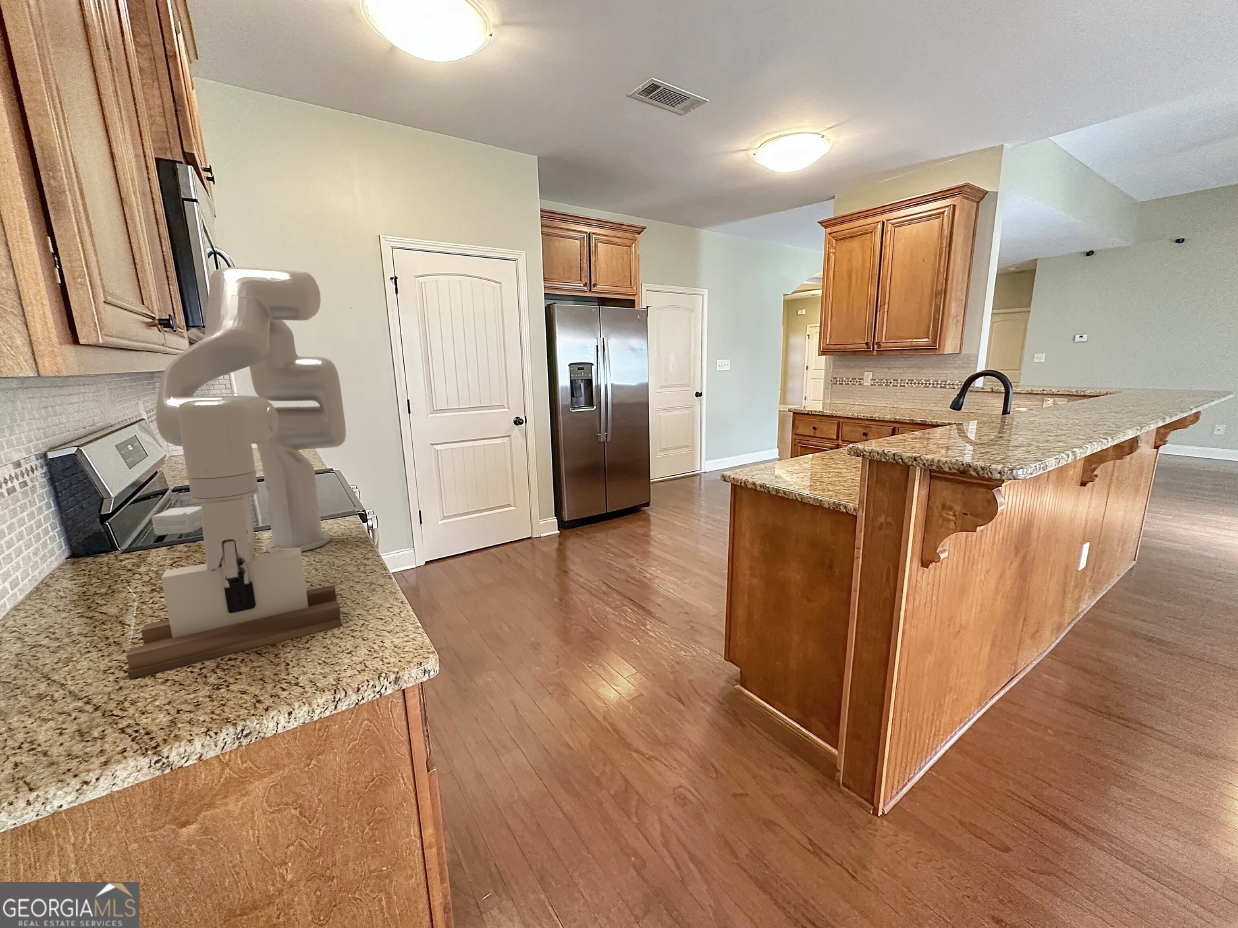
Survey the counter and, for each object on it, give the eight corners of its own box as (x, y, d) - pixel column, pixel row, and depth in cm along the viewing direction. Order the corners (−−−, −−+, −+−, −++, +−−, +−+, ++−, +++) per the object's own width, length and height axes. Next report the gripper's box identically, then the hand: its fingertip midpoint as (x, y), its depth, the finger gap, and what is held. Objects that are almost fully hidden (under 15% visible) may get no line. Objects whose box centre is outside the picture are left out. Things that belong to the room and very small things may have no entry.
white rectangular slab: (176, 629, 70) (165, 570, 68) (307, 600, 79) (300, 547, 77) (172, 638, 67) (161, 577, 66) (308, 607, 76) (300, 553, 75)
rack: (149, 640, 72) (145, 622, 71) (336, 599, 85) (334, 583, 84) (129, 679, 63) (124, 658, 62) (341, 625, 76) (339, 608, 75)
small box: (173, 526, 126) (170, 507, 125) (209, 524, 128) (205, 505, 127) (153, 536, 118) (150, 516, 118) (191, 533, 120) (188, 513, 120)
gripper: (199, 479, 74) (218, 591, 77) (179, 502, 61) (202, 636, 64) (260, 473, 78) (275, 580, 81) (253, 493, 65) (272, 620, 68)
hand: (243, 604), depth 73 cm, fingers closed on white rectangular slab, 3 cm apart
